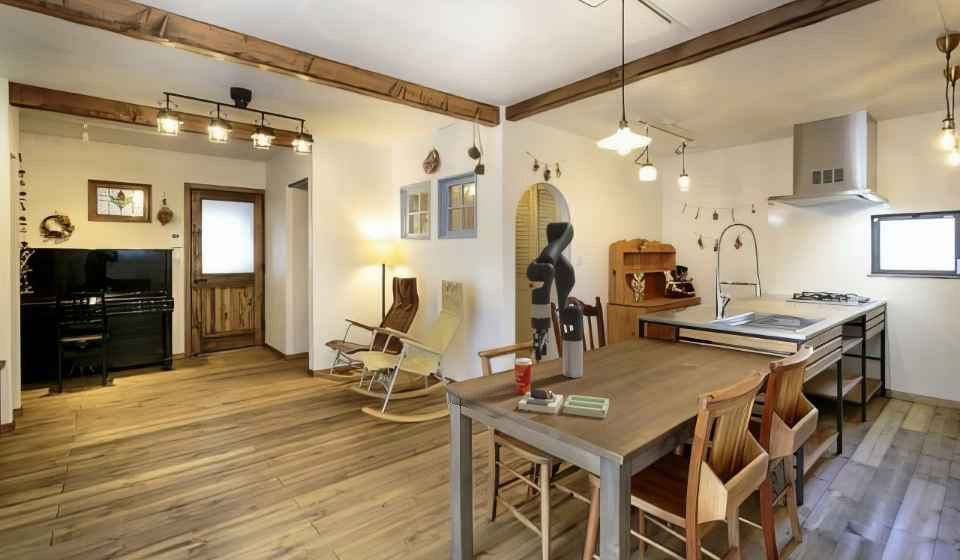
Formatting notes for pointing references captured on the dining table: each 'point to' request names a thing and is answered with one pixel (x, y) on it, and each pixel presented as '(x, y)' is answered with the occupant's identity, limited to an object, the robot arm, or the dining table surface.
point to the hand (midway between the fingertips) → (541, 357)
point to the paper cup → (523, 375)
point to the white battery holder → (541, 403)
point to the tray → (586, 406)
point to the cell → (542, 394)
